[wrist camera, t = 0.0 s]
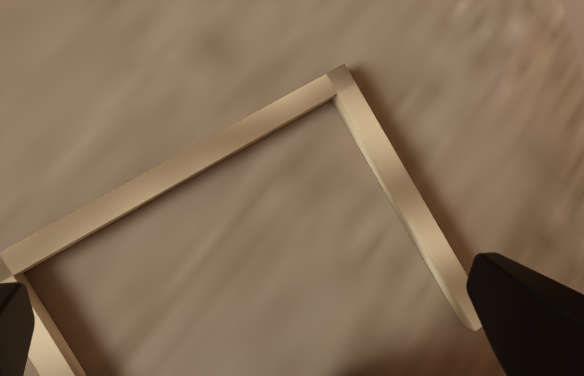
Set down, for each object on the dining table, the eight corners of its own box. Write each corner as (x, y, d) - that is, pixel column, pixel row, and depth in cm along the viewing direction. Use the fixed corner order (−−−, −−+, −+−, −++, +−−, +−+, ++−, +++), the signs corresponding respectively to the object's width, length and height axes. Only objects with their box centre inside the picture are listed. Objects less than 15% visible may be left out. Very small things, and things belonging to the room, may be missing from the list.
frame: (479, 314, 26) (492, 318, 25) (162, 549, 22) (159, 568, 21) (338, 71, 26) (344, 63, 24) (-15, 264, 21) (-27, 267, 20)
